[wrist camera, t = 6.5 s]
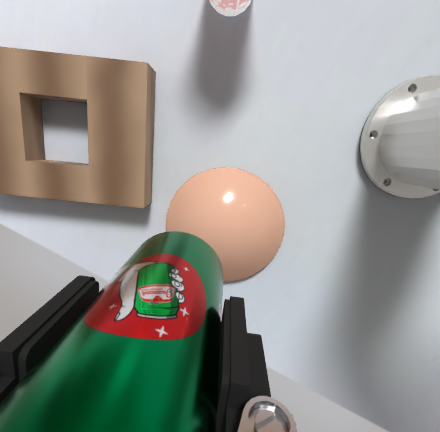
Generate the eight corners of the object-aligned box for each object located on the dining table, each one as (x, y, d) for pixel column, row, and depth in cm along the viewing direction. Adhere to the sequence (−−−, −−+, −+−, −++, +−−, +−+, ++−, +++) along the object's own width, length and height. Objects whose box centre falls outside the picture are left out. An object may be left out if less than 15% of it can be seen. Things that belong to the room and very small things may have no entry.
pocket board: (155, 72, 27) (147, 62, 24) (151, 202, 30) (143, 208, 27) (-18, 53, 27) (-48, 41, 24) (-2, 187, 30) (-26, 191, 27)
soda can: (181, 323, 16) (42, 838, 4) (117, 268, 15) (-293, 716, 3) (242, 271, 14) (292, 766, 3) (176, 209, 14) (-113, 554, 2)
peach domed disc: (292, 173, 29) (294, 174, 29) (273, 283, 33) (274, 286, 32) (170, 161, 29) (168, 161, 28) (164, 272, 33) (163, 275, 32)
